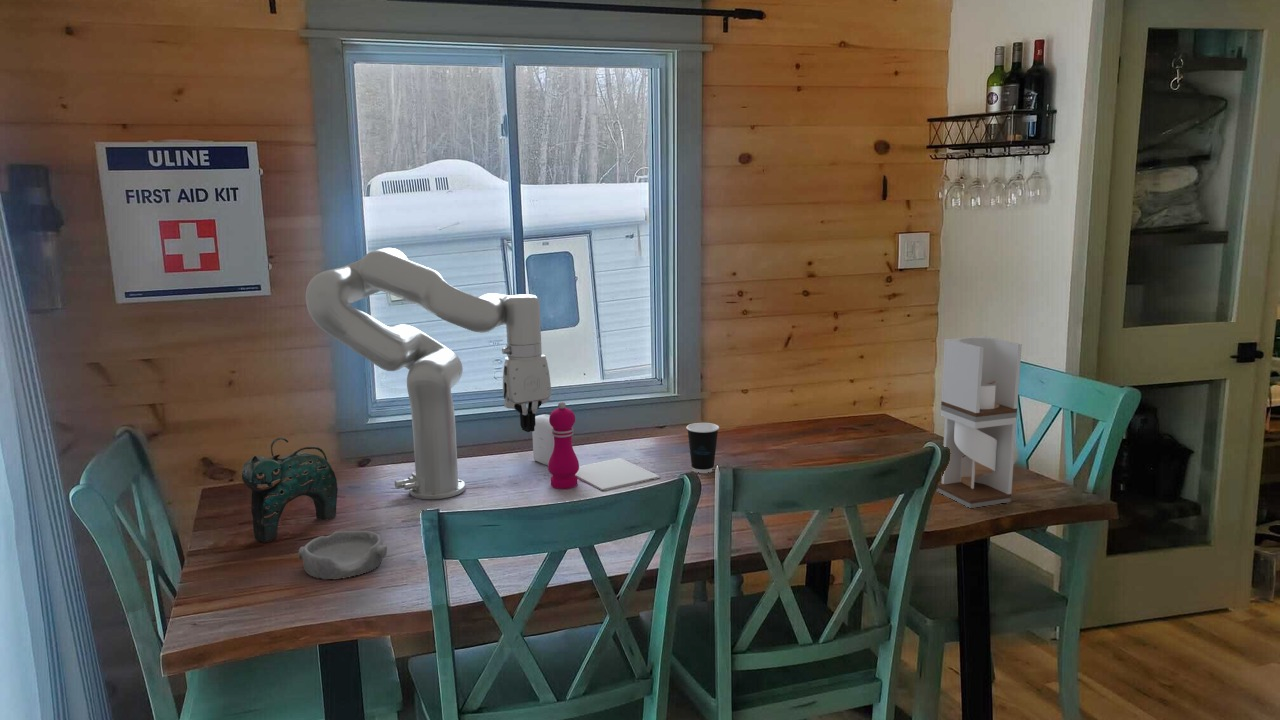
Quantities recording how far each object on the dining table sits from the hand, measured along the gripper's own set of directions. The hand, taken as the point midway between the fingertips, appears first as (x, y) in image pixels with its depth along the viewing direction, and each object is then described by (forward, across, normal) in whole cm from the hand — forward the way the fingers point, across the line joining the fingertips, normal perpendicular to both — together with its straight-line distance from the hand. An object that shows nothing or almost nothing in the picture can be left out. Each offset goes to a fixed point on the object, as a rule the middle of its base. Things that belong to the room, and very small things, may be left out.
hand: (528, 430), depth 208 cm
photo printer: (+15, +14, +17) cm, 27 cm away
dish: (+15, -47, -17) cm, 52 cm away
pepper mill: (+15, +9, 0) cm, 17 cm away
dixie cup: (+15, +42, -10) cm, 45 cm away
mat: (+15, +22, 0) cm, 26 cm away
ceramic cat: (+14, -50, +8) cm, 53 cm away
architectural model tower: (+16, +79, -60) cm, 100 cm away
